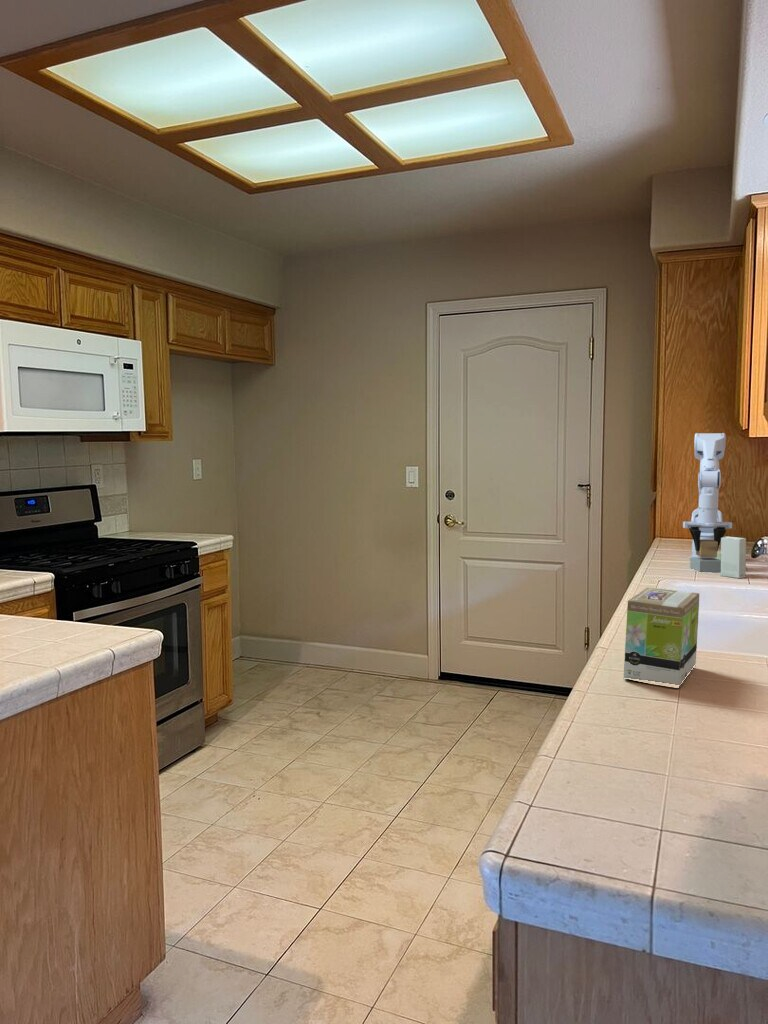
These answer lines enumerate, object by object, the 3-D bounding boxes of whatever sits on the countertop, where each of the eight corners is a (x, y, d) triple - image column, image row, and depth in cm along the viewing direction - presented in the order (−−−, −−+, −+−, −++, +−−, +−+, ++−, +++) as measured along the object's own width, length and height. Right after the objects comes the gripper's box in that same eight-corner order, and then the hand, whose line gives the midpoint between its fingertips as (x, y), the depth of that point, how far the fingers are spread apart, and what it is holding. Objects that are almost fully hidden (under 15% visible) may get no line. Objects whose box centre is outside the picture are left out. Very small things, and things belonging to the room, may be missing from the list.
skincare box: (745, 577, 231) (747, 537, 230) (738, 578, 228) (740, 539, 227) (726, 574, 236) (727, 535, 235) (719, 576, 233) (720, 537, 232)
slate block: (690, 569, 246) (690, 557, 245) (711, 569, 246) (711, 557, 246) (699, 573, 239) (700, 560, 239) (721, 573, 239) (722, 560, 239)
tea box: (681, 691, 130) (684, 606, 128) (622, 681, 135) (624, 599, 133) (697, 668, 142) (700, 590, 141) (642, 659, 148) (644, 585, 146)
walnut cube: (695, 554, 245) (696, 539, 244) (711, 554, 244) (712, 539, 244) (700, 557, 240) (701, 541, 239) (717, 557, 239) (717, 541, 239)
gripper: (687, 509, 237) (686, 552, 239) (736, 509, 236) (734, 552, 237) (681, 507, 244) (680, 548, 246) (728, 507, 243) (726, 549, 244)
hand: (706, 550), depth 242 cm, fingers closed on walnut cube, 5 cm apart
